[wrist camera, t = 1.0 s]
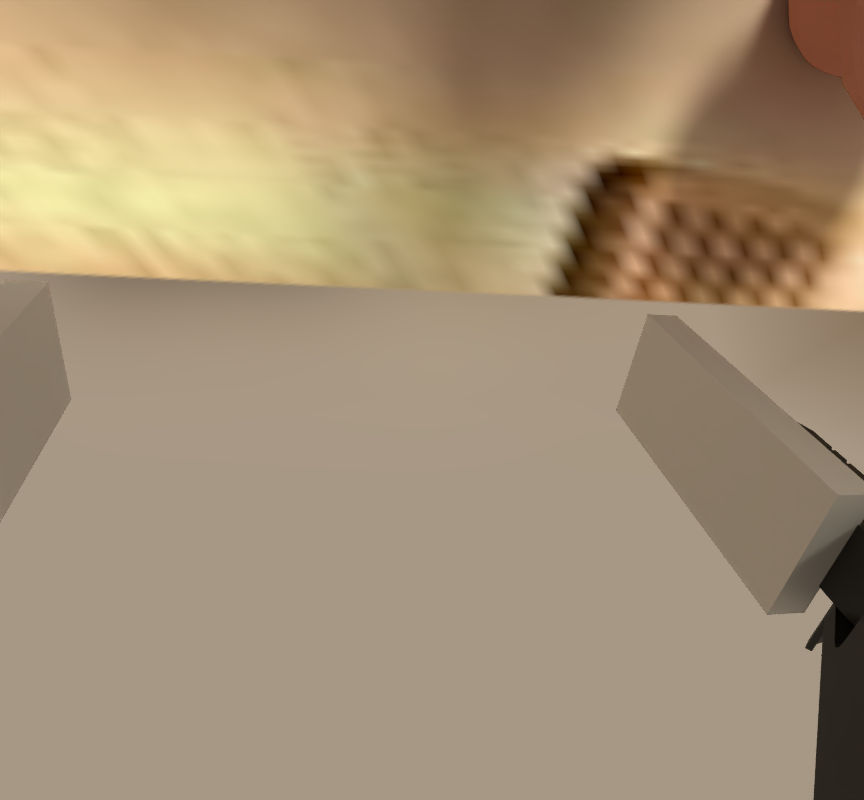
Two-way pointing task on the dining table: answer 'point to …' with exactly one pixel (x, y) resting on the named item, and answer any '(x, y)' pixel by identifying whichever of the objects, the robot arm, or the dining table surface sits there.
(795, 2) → the decorative flower
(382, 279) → the dining table surface
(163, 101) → the dining table surface
